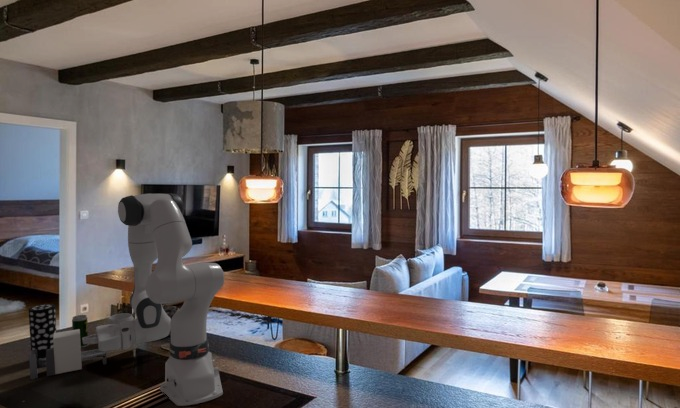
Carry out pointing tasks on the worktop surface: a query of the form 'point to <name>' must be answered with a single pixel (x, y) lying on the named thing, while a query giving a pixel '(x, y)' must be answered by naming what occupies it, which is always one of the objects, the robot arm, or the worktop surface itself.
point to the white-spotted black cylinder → (42, 328)
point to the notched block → (67, 351)
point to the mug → (120, 318)
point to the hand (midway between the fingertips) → (82, 340)
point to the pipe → (41, 363)
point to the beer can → (81, 327)
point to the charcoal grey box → (50, 362)
